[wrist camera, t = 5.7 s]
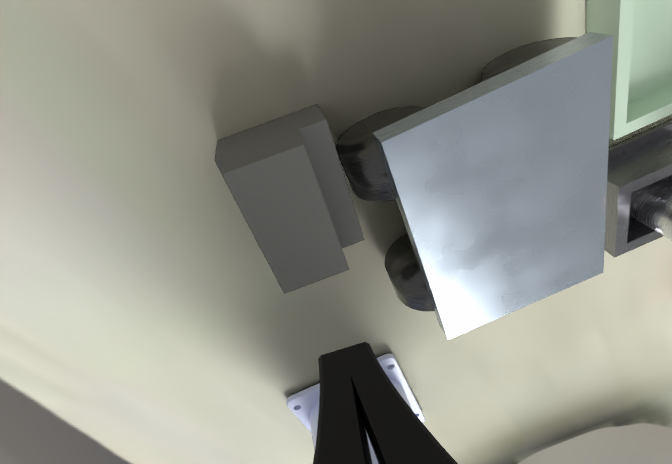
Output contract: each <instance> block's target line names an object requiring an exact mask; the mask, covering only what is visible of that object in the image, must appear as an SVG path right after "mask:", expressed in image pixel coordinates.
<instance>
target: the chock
mask: <svg viewBox="0 0 672 464" xmlns="http://www.w3.org/2000/svg"><path fill="white" fill-rule="evenodd" d="M215 162H216V164H217V166H218V168H219V170H220V171H221V173H222V176H223V178H224V180H225V182H226V184H227V185H228V187H229V189H230V191H231V193H232V195H233V197H234V199H235V201H236V203H237V205H238V206H239V208H240V210H241V212H242V214H243V216H244V218H245V220H246V222H247V224H248V226H249V227H250V229H251V231H252V233H253V235H254V237H255V239H256V241H257V243H258V245H259V247H260V248H261V250H262V252H263V254H264V256H265V258H266V260H267V262H268V264H269V266H270V267H271V269H272V271H273V273H274V275H275V277H276V279H277V281H278V283H279V285H280V287H281V288H282V290H283V292H284V294H285V293H287V292H290V291H293V290H295V289H298V288H301V287H303V286H306V285H309V284H311V283H314V282H317V281H320V280H322V279H325V278H328V277H330V276H333V275H336V274H338V273H341V272H344V271H347V270H349V267H348V264H347V262H346V259H345V256H344V253H343V251H342V248H344V247H347V246H349V245H352V244H355V243H357V242H360V241H363V240H364V237H363V233H362V230H361V227H360V224H359V221H358V218H357V214H356V211H355V208H354V205H353V202H352V199H351V195H350V192H349V189H348V186H347V183H346V179H345V176H344V173H343V170H342V167H341V164H340V160H339V157H338V154H337V151H336V148H335V145H334V141H333V138H332V135H331V132H330V129H329V126H328V122H327V119H326V118H325V116H324V114H323V113H322V111H321V110H320V108H319V106H318V105H317V104H316V105H313V106H310V107H307V108H305V109H302V110H299V111H297V112H294V113H291V114H288V115H286V116H283V117H280V118H278V119H275V120H272V121H269V122H267V123H264V124H261V125H259V126H256V127H253V128H250V129H248V130H245V131H242V132H240V133H237V134H234V135H231V136H229V137H226V138H223V139H220V140H218V141H217V148H216V155H215Z"/></svg>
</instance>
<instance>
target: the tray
mask: <svg viewBox="0 0 672 464" xmlns="http://www.w3.org/2000/svg"><path fill="white" fill-rule="evenodd" d="M589 32H594V33H601V34H608V35H613V56H612V80H611V103H610V126H609V139H611V140H616V139H618V138H620V137H622V136H625V135H627V134H629V133H631V132H633V131H636V130H638V129H640V128H642V127H644V126H647V125H649V124H651V123H653V122H656V121H658V120H660V119H662V118H664V117H667V116H669V115H671V114H672V0H586V33H589Z"/></svg>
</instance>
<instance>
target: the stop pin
mask: <svg viewBox="0 0 672 464" xmlns="http://www.w3.org/2000/svg"><path fill="white" fill-rule="evenodd" d="M629 215H630V216H632V217H634V218H635V219H637V220H638V221H640V222H642V223H643V224H645V225H647V226H648V227H650V228H652V229H653V230H655V231H657V232H658V233H660V234H662V235H663V236H665V237H667V238H668V239H670V240H672V183H671V182H668V181H666V180H664V179H661V180H659V181H657V182H654V183H652V184H650V185H648V186H645V187H643V188H641V189H639V190H636V191H634V192H632V193H631V203H630V214H629Z"/></svg>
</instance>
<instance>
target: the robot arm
mask: <svg viewBox="0 0 672 464" xmlns="http://www.w3.org/2000/svg"><path fill="white" fill-rule="evenodd" d="M318 361H319V373H320V383H319V384H316V385H314V386H312V387H309V388H307V389H305V390H303V391H300V392H298V393H296V394H293V395H291V396H289V397H288V398H287V400H286V402H287V406H288V408H289V409H290V410H291V411H292V412H293V413H294V414H295V415H296V416H297V418H298V419H299V420H300V421H301V422H302V423H303V424H304V425H305V427H306V428H307V429H308V430H309V431H310V432H311V433H312V438H313V445H314V451H315V454H314V461H313V464H458V463H457V462H456V461H455V460H454V459H453V458H452V457H451V456H450V455H449V454H448V452H447V451H446V450H445V449H444V448H443V447H442V446H441V445H440V443H439V442H438V441H437V440H436V439H435V438H434V436H433V435H432V434H431V433H430V432H429V430H428V429H427V428H426V427H425V426H424V424H423V422H424V421H425V417H424V415H423V413H422V411H421V409H420V407H419V405H418V403H417V401H416V399H415V397H414V395H413V393H412V391H411V389H410V387H409V385H408V383H407V381H406V379H405V377H404V375H403V373H402V371H401V369H400V367H399V365H398V363H397V361H396V359H395V357H394V355H393V354H385V355H383V356H380V357H378V358H376V357H375V355H374V353H373V351H372V349H371V347H370V345H369V344H368V343H366V342H364V343H360V344H357V345H354V346H350V347H347V348H344V349H340V350H337V351H334V352H330V353H327V354H324V355H321V356H320V358H319V359H318Z"/></svg>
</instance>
